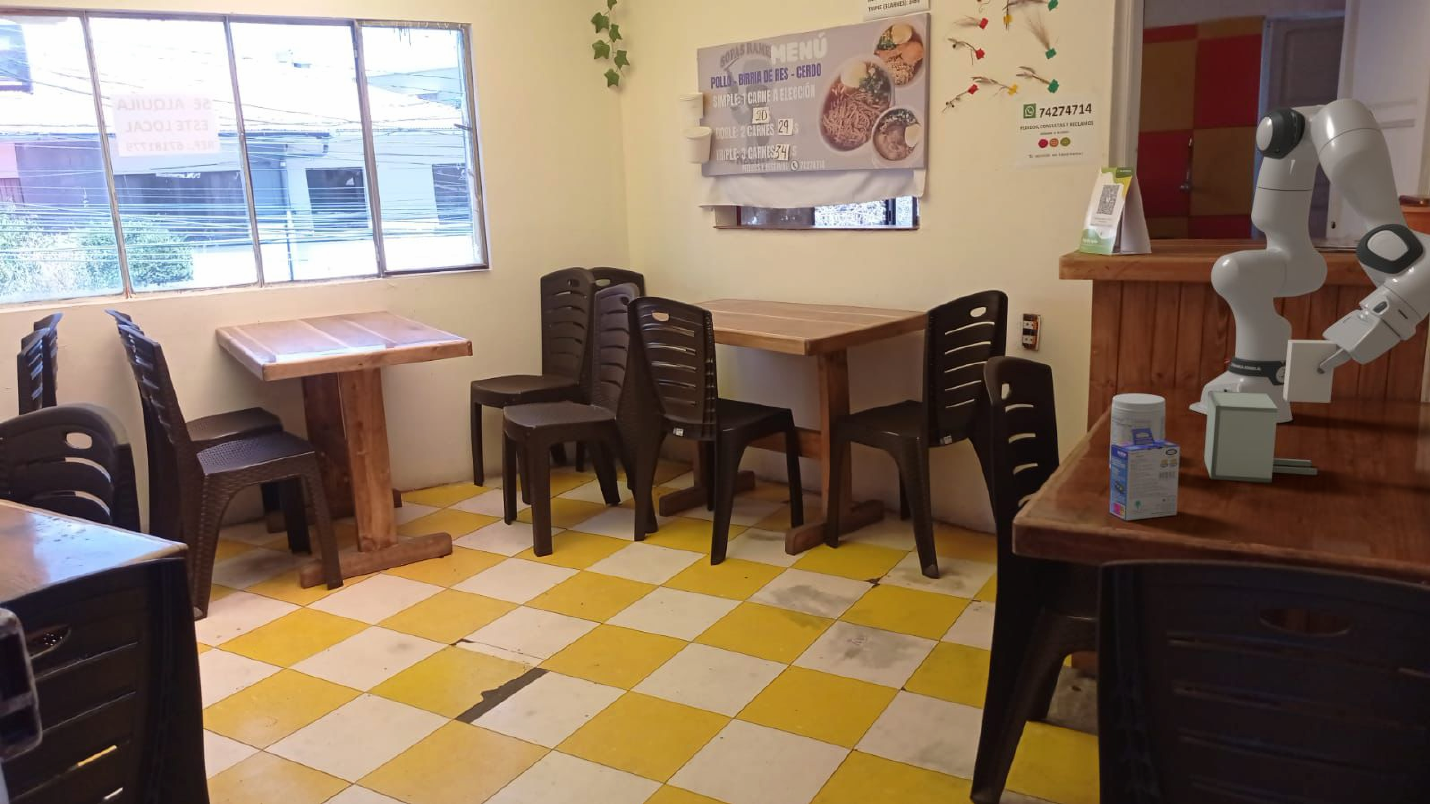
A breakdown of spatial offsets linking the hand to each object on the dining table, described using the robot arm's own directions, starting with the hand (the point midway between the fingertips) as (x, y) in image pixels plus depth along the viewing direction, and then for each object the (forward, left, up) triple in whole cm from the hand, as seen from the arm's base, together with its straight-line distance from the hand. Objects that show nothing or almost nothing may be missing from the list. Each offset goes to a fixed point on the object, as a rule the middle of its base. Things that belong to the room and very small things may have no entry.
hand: (1318, 366), depth 181 cm
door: (-1, -1, -6) cm, 7 cm away
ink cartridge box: (+5, -44, -21) cm, 49 cm away
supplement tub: (-15, -27, -21) cm, 37 cm away
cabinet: (-5, -6, -21) cm, 22 cm away
